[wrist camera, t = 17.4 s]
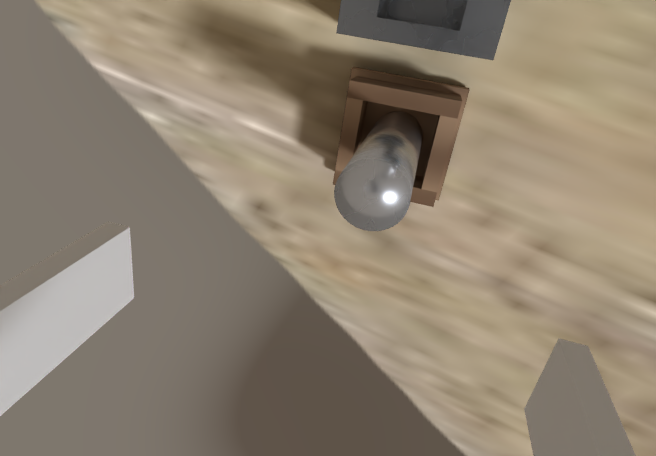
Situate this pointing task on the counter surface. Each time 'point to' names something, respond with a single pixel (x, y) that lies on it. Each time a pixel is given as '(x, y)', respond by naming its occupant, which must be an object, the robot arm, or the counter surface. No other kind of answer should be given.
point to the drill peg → (381, 174)
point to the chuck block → (428, 23)
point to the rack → (419, 101)
